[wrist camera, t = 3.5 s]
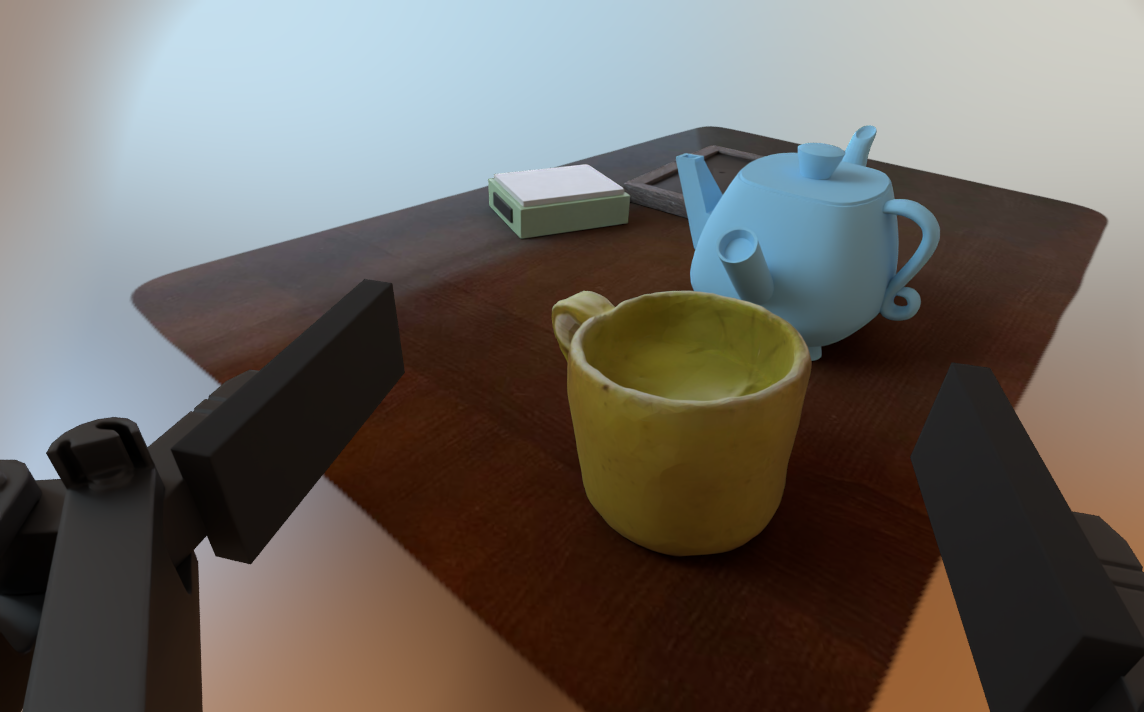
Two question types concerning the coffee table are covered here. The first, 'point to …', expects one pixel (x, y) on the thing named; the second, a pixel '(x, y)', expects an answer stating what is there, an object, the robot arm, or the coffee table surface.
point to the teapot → (806, 238)
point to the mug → (682, 414)
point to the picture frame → (665, 184)
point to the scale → (557, 200)
